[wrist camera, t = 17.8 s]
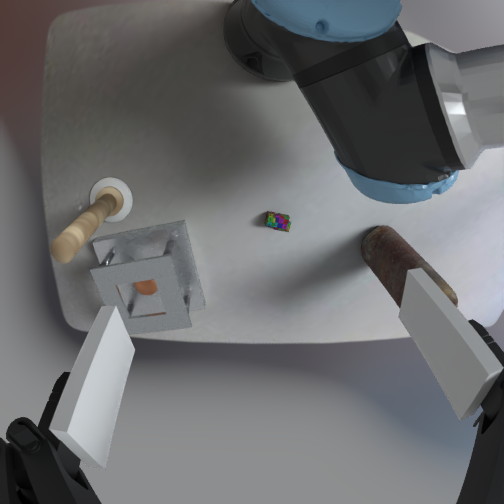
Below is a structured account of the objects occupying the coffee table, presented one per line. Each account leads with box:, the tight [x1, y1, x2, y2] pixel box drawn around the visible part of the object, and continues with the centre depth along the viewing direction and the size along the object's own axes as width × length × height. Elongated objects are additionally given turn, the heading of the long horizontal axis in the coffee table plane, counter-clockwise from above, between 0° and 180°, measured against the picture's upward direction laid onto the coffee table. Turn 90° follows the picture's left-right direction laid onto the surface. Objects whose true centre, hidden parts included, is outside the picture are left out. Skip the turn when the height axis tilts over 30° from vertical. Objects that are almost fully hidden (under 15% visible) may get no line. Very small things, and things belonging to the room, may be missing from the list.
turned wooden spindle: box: [50, 186, 124, 263], centre depth 36 cm, size 4×4×17 cm
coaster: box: [90, 177, 133, 222], centre depth 43 cm, size 7×7×1 cm
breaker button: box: [135, 279, 157, 295], centre depth 47 cm, size 4×4×4 cm
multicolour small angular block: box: [265, 211, 291, 232], centre depth 47 cm, size 4×3×2 cm, turn 77°
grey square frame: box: [90, 220, 205, 335], centre depth 46 cm, size 15×15×8 cm
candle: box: [361, 226, 458, 308], centre depth 42 cm, size 8×7×20 cm
